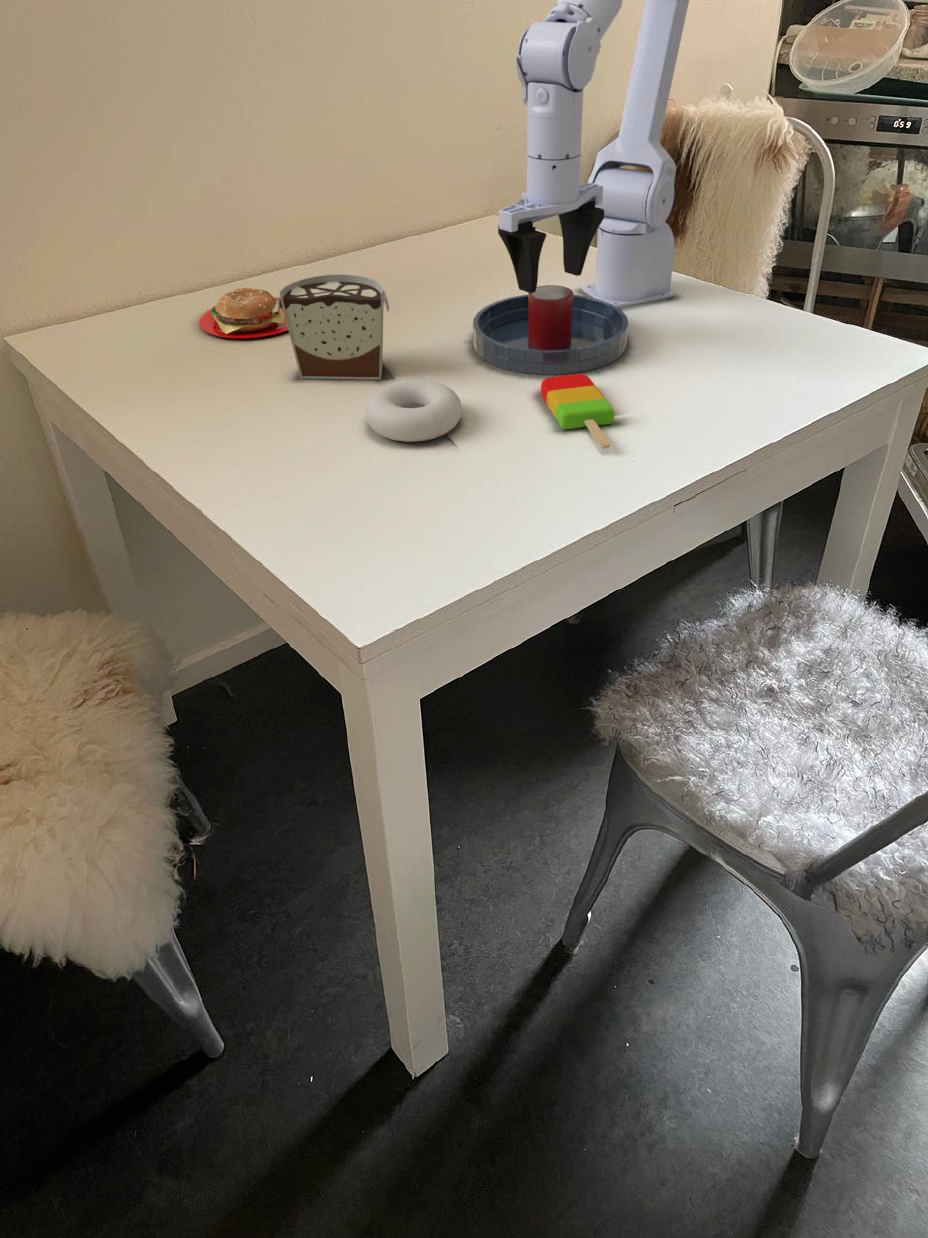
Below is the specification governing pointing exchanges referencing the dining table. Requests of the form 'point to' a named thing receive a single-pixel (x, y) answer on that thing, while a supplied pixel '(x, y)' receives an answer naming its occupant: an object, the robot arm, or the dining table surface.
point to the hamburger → (245, 315)
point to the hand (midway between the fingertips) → (550, 281)
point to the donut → (413, 410)
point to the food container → (336, 326)
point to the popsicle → (578, 404)
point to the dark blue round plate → (591, 347)
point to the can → (550, 317)
